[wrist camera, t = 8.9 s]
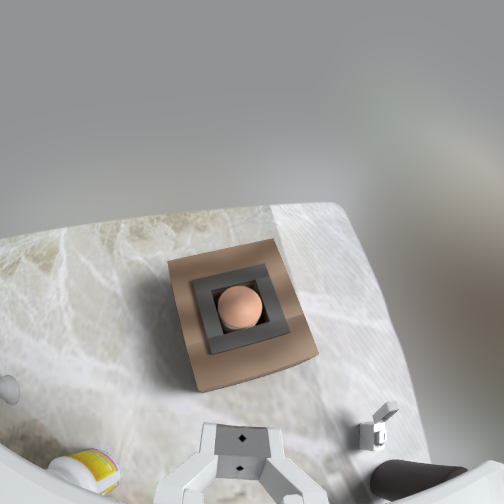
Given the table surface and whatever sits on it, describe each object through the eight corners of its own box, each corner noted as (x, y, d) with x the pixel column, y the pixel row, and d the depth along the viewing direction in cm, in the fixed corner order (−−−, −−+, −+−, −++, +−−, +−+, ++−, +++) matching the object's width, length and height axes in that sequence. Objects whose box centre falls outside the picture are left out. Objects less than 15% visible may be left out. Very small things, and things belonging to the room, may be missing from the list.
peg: (258, 336, 38) (267, 320, 31) (223, 346, 37) (224, 332, 30) (247, 304, 40) (254, 281, 33) (213, 312, 39) (212, 291, 32)
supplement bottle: (80, 443, 26) (30, 450, 15) (121, 454, 27) (81, 472, 16) (81, 481, 23) (35, 500, 12) (123, 494, 24) (87, 523, 13)
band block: (300, 363, 37) (320, 353, 30) (202, 392, 34) (198, 390, 26) (264, 266, 44) (274, 235, 37) (175, 286, 41) (166, 258, 33)
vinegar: (379, 503, 25) (467, 533, 8) (362, 478, 28) (454, 505, 11) (410, 476, 28) (503, 486, 10) (395, 450, 30) (493, 455, 13)
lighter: (369, 446, 31) (399, 451, 24) (359, 448, 31) (388, 454, 24) (369, 403, 34) (399, 400, 28) (359, 404, 34) (388, 402, 27)
